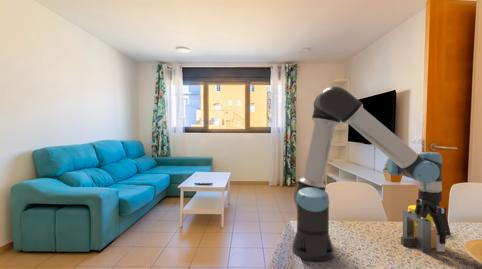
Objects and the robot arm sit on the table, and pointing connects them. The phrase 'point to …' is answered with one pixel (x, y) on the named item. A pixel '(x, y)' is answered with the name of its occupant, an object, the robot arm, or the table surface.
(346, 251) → the table surface
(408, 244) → the plug
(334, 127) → the robot arm
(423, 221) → the gray arch block
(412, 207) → the tape roll
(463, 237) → the table surface
